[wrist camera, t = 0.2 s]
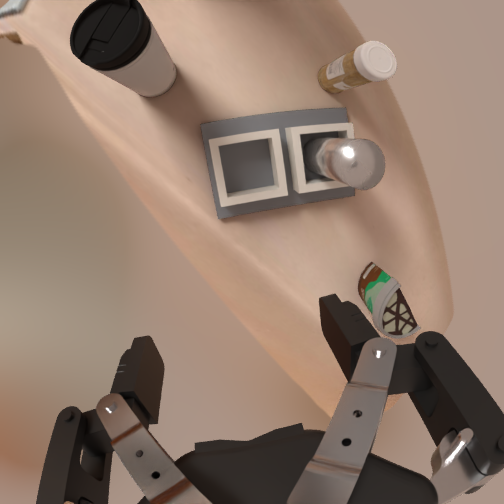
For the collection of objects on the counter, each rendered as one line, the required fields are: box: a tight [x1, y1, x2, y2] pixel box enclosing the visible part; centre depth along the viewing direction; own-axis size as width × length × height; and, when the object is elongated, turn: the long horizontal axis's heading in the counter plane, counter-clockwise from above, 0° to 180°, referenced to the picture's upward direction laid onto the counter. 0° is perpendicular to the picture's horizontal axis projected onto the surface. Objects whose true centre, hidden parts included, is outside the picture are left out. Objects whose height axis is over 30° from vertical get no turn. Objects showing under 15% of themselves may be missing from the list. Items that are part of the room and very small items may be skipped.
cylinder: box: [302, 137, 385, 190], centre depth 32 cm, size 5×5×13 cm
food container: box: [358, 262, 421, 339], centre depth 44 cm, size 12×6×10 cm, turn 39°
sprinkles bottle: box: [318, 41, 397, 93], centre depth 28 cm, size 5×5×13 cm
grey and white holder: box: [200, 108, 355, 219], centre depth 36 cm, size 13×20×4 cm, turn 99°
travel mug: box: [70, 0, 176, 97], centre depth 23 cm, size 6×7×20 cm
